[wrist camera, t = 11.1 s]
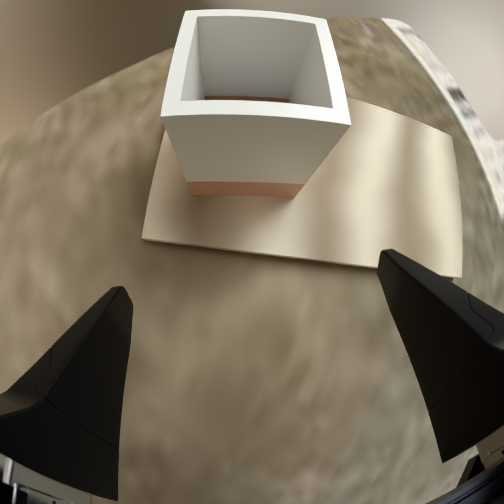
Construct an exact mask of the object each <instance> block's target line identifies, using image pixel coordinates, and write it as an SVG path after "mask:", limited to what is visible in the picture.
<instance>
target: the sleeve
mask: <svg viewBox="0 0 504 504" xmlns="http://www.w3.org/2000/svg"><path fill="white" fill-rule="evenodd" d="M161 119H162V122H163V124H164V127H165V129H166V132H167V134H168V137H169V139H170V142H171V144H172V147H173V149H174V152H175V154H176V157H177V159H178V162H179V164H180V167H181V169H182V172H183V174H184V176H185V179H186V181H187V184H188V186H189V189H190V191H191V193H192V195H237V196H277V197H296V195H297V194H298V193H299V192H300V190H301V189H302V188H303V186H304V185H305V184H306V183H307V181H308V180H309V179H310V178H311V176H312V175H313V174H314V172H315V171H316V170H317V169H318V167H319V166H320V165H321V163H322V162H323V161H324V160H325V158H326V157H327V156H328V154H329V153H330V152H331V151H332V149H333V148H334V147H335V145H336V144H337V143H338V142H339V140H340V139H341V138H342V136H343V135H344V134H345V133H346V131H347V130H348V129H349V127H350V126H351V120H350V115H349V109H348V104H347V99H346V95H345V90H344V85H343V81H342V77H341V72H340V68H339V64H338V60H337V56H336V53H335V49H334V45H333V42H332V38H331V35H330V31H329V28H328V25H327V22H326V19H321V18H315V17H309V16H303V15H296V14H289V13H280V12H271V11H270V12H269V11H257V10H230V9H223V10H222V9H221V10H220V9H219V10H193V11H185V14H184V17H183V21H182V25H181V28H180V31H179V35H178V38H177V42H176V46H175V50H174V54H173V58H172V62H171V66H170V71H169V75H168V80H167V85H166V89H165V94H164V100H163V105H162V110H161Z"/></svg>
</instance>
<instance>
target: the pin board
mask: <svg viewBox="0 0 504 504" xmlns="http://www.w3.org/2000/svg"><path fill="white" fill-rule="evenodd" d="M346 99H347V104H348V109H349V115H350V120H351V126H350V127H349V129H348V130H347V131H346V133H345V134H344V135H343V136H342V138H341V139H340V140H339V142H338V143H337V144H336V145H335V147H334V148H333V149H332V151H331V152H330V153H329V154H328V156H327V157H326V158H325V160H324V161H323V162H322V163H321V165H320V166H319V167H318V169H317V170H316V171H315V172H314V174H313V175H312V176H311V178H310V179H309V180H308V181H307V183H306V184H305V185H304V186H303V188H302V189H301V190H300V192H299V193H298V194H297V195H296V197H277V196H237V195H192V193H191V191H190V189H189V186H188V184H187V181H186V179H185V176H184V174H183V172H182V169H181V167H180V164H179V162H178V159H177V157H176V154H175V152H174V149H173V147H172V144H171V142H170V139H169V137H168V134H167V132H166V129H165V132H164V136H163V140H162V143H161V147H160V151H159V155H158V159H157V163H156V167H155V172H154V176H153V181H152V185H151V190H150V195H149V200H148V205H147V210H146V215H145V221H144V227H143V232H142V238H143V239H145V240H149V241H157V242H165V243H173V244H181V245H189V246H197V247H205V248H213V249H221V250H229V251H237V252H245V253H253V254H261V255H269V256H277V257H285V258H293V259H302V260H310V261H318V262H326V263H334V264H342V265H350V266H359V267H367V268H375V269H377V268H378V262H379V256H380V252H381V251H382V250H384V249H394V250H396V251H398V252H399V253H401V254H403V255H405V256H407V257H409V258H410V259H412V260H414V261H416V262H418V263H419V264H421V265H423V266H425V267H426V268H428V269H430V270H432V271H433V272H435V273H437V274H439V275H440V276H442V277H449V278H462V216H461V202H460V191H459V182H458V174H457V167H456V160H455V154H454V148H453V143H452V138H451V136H450V135H448V134H445V133H443V132H441V131H439V130H437V129H435V128H432V127H430V126H428V125H425V124H423V123H421V122H418V121H416V120H413V119H411V118H408V117H406V116H403V115H400V114H398V113H395V112H392V111H389V110H387V109H384V108H381V107H378V106H375V105H372V104H368V103H365V102H362V101H359V100H355V99H352V98H348V97H346Z"/></svg>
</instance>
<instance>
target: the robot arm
mask: <svg viewBox="0 0 504 504" xmlns="http://www.w3.org/2000/svg"><path fill="white" fill-rule="evenodd" d="M377 273H378V277H379V280H380V283H381V285H382V288H383V291H384V294H385V297H386V301H387V304H388V307H389V309H390V312H391V314H392V317H393V319H394V321H395V324H396V326H397V329H398V331H399V333H400V336H401V338H402V341H403V343H404V345H405V348H406V350H407V353H408V356H409V358H410V361H411V363H412V366H413V369H414V371H415V374H416V377H417V380H418V383H419V385H420V388H421V391H422V394H423V397H424V400H425V403H426V406H427V410H428V412H429V416H430V420H431V423H432V427H433V430H434V434H435V437H436V441H437V445H438V448H439V452H440V456H441V460H442V463H444V462H446V461H448V460H450V459H452V458H454V457H456V456H457V455H459V454H461V453H463V452H465V451H466V450H468V449H470V448H471V447H473V446H475V445H476V447H477V450H478V453H479V454H477V455H476V456H474V457H473V458H471V459H469V460H468V463H467V465H466V467H465V470H464V472H463V474H462V477H461V479H460V481H459V483H458V485H457V487H456V488H455V489H453V490H451V491H450V492H448V493H446V494H444V495H442V496H440V497H438V498H436V499H434V500H432V501H430V502H428V503H426V504H504V313H502V312H500V311H499V310H497V309H495V308H493V307H491V306H490V305H488V304H486V303H485V302H483V301H481V300H480V299H478V298H476V297H475V296H473V295H472V294H470V293H467V291H465V290H464V289H462V288H460V287H459V286H457V285H455V284H454V283H452V282H450V281H449V280H447V279H445V278H444V277H442V276H440V275H439V274H437V273H435V272H433V271H432V270H430V269H428V268H426V267H425V266H423V265H421V264H419V263H418V262H416V261H414V260H412V259H410V258H409V257H407V256H405V255H403V254H401V253H399V252H398V251H396V250H394V249H384V250H382V251H381V252H380V256H379V262H378V268H377ZM132 317H133V304H132V301H131V299H130V297H129V295H128V293H127V291H126V289H125V288H124V287H123V286H115V287H112V288H111V289H110V290H109V291H108V292H107V293H105V294H104V295H103V296H102V297H101V298H100V299H99V300H98V301H97V302H96V303H95V304H94V305H93V306H92V307H91V308H90V309H89V310H87V311H86V312H85V313H84V314H83V315H82V316H81V317H80V318H79V319H78V320H77V321H76V322H75V323H74V324H73V325H72V326H71V327H70V328H69V329H68V330H67V331H66V332H65V333H64V334H63V335H62V336H61V337H60V338H59V339H58V340H57V341H56V342H55V343H54V344H53V345H52V348H50V349H49V350H48V351H47V352H46V353H45V354H44V355H43V356H42V357H41V358H40V359H39V360H38V361H37V362H36V363H35V364H34V365H33V366H32V367H31V368H30V369H29V370H28V371H27V372H26V373H25V374H24V375H23V376H22V377H20V378H19V379H18V380H17V381H16V382H15V383H14V384H13V385H12V386H11V387H10V388H9V389H8V390H7V391H5V392H4V393H2V394H0V504H91V501H92V495H96V496H99V497H103V498H106V499H110V500H114V501H118V463H119V450H118V449H119V439H120V425H121V414H122V404H123V395H124V386H125V378H126V371H127V364H128V358H129V351H130V344H131V330H132Z"/></svg>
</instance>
